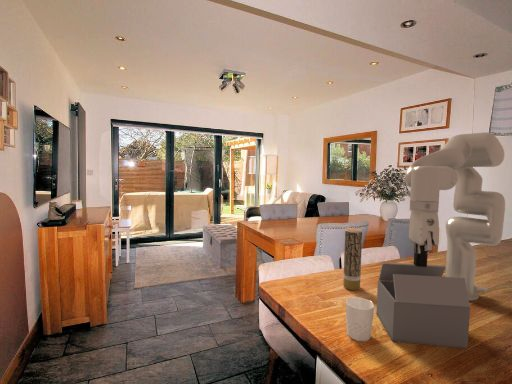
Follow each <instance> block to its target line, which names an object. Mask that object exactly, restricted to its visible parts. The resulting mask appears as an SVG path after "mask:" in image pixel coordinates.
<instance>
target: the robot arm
mask: <svg viewBox="0 0 512 384" xmlns="http://www.w3.org/2000/svg"><path fill="white" fill-rule="evenodd" d="M504 159H505V149H504V146H503V145H502V144H501V142H500V140H499V138H498V137H497V136H496V135H494V134H493V133H491V132H476V133H475V132H473V133H462V134H457V135H454V136H452V137H450V138H449V139H448V140H447V142H446V143H445V144H444V145H443V146H442V147H441V149H439V150H437V151H434V152H432V153H428V154H426V155H424V156H421V157H419V158H417V159H416V160H415V161H413V163H411V164H410V165H409V167H408V168H407V170H406V171H405V175H404V181H405V184H406V186H407V187H408V188H410V191H409V193H410V195H409V197H410V198H409V208H408V209H409V211H410V215H409V222H408V223H409V225H408V238H409V240H411V241H412V244H413V252H414V253H413V264H414V265H415V266H417V267H427V265H428V257H429V256H428V255H429V254H430V253H429V252H432V251H433V246H434V247H438V246H439V244H440V243H439V242H440V223H439V222H440V221H439V219H440V218H439V207H440V206H439V203H440V191H449V190H452V189H453V188H454V187H455V188H454V193H453V203H452V205H453V210H454V211H455V212H457V213H459V214H464V215H465V214H466V215H472V216H473V215H474V216H482V217H486V218H487V219H482V218H475V217H466V216H452V217H450V218H448V219H447V221H446V222H445V233H446V257H445V258H446V261H445V276H444V277H455V278H465V283H466V288H467V293H468V299H469V302H470V301H471V302H474V301H477V300H478V299H479V293H485V294H486V293H488V292H489V289H488V288H487V287H481V286H479V285H475V278H476V277H475V276H476V262H477V252H476V249H474V246H472V244H471V243H473V244H480V245H485V246H491V247H492V246H498V245H499V244H500V243H501V241H502V239H503V233H504V232H503V230H504V224H505V223H504V222H505V213H506V199H505V196H504V195H503V193H500V192H497V191H489V190H483V187H482V186H483V177H482V175H481V174H480V173H479V172H478V171H477V170H476V168H482V167H483V168H492V167H493V168H494V167H498V166H500V165H501V164H502V163H503V162H504Z"/></svg>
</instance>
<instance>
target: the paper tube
mask: <svg viewBox="0 0 512 384" xmlns="http://www.w3.org/2000/svg"><path fill="white" fill-rule="evenodd" d="M362 245H363V229H361V228H357V227H346V228H345V229H344V252H343V253H344V255H343V257H344V258H343V279H342V280H343V287H344V288H345V289H347V290H351V291H357V290H359V289H360V288H361V275H362V273H361V269H362V250H363V249H362Z"/></svg>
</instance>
